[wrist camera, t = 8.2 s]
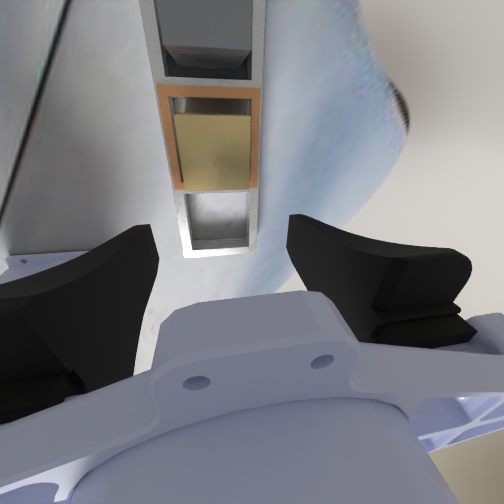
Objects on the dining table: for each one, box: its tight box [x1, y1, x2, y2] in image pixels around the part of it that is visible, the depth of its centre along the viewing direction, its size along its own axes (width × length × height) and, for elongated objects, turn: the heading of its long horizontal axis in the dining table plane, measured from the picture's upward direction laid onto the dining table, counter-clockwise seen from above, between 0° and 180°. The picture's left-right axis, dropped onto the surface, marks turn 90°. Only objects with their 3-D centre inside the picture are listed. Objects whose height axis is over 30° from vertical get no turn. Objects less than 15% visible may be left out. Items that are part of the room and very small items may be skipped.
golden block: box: [174, 112, 251, 192], centre depth 15 cm, size 4×4×6 cm
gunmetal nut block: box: [156, 0, 252, 70], centre depth 12 cm, size 4×4×6 cm
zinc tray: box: [139, 0, 266, 258], centre depth 17 cm, size 7×20×2 cm, turn 178°
